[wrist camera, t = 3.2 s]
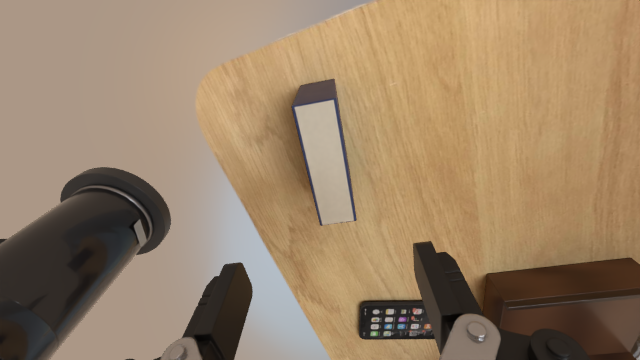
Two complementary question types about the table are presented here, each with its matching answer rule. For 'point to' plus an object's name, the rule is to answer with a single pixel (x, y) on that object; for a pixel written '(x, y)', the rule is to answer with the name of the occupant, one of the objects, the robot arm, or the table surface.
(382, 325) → the smartphone
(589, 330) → the wooden step block
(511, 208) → the table surface
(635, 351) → the alarm clock
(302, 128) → the book
